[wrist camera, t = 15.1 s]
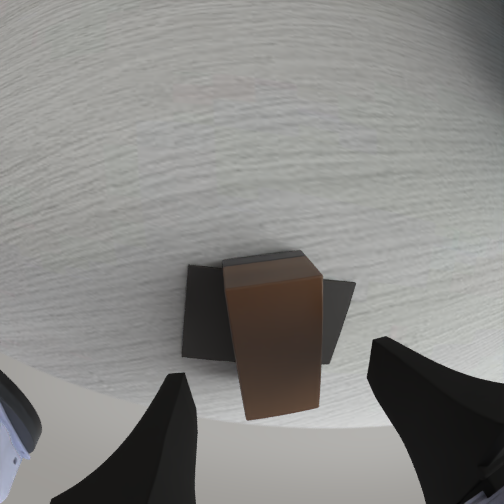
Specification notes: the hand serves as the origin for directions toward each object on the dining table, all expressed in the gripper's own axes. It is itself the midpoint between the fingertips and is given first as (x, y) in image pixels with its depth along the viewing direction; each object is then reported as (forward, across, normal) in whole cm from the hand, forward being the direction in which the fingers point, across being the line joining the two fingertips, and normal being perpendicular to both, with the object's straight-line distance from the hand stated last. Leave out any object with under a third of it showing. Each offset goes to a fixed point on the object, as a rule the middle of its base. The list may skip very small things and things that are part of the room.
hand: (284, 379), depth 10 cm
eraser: (+4, 0, 0) cm, 4 cm away
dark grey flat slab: (+4, 0, 0) cm, 4 cm away
